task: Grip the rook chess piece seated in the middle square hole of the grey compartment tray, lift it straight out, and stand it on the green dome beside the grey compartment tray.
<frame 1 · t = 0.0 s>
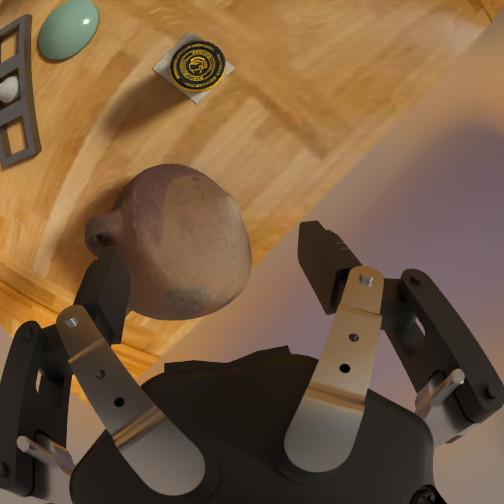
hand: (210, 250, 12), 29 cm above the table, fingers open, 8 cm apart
condiment: (193, 67, 30), on the table
grey compartment tray: (13, 88, 23), on the table
jug: (159, 232, 43), on the table
green dome: (68, 29, 21), on the table
rook chess piece: (14, 88, 23), resting in grey compartment tray
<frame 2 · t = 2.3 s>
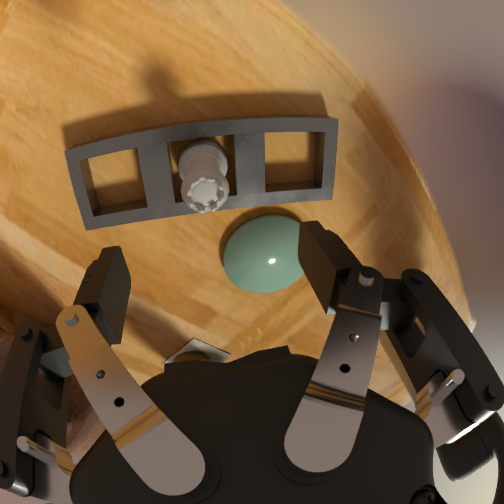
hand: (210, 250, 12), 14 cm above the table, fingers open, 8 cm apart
condiment: (196, 358, 40), on the table
grey compartment tray: (202, 163, 24), on the table
jug: (36, 333, 31), on the table
green dome: (268, 254, 31), on the table
rook chess piece: (202, 162, 24), resting in grey compartment tray
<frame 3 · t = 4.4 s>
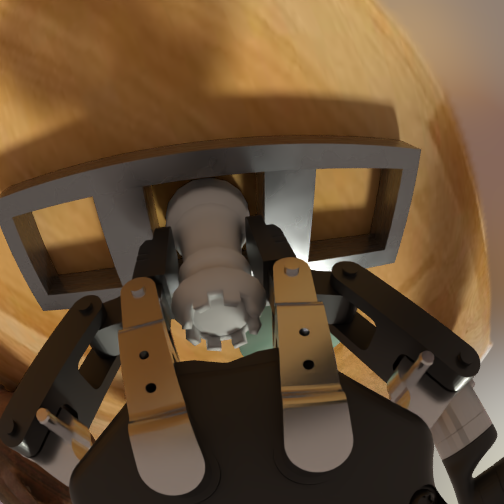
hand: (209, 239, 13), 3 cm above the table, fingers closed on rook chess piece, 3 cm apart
grey compartment tray: (206, 213, 15), on the table
jug: (14, 387, 22), on the table
green dome: (297, 326, 22), on the table
rook chess piece: (206, 211, 15), resting in grey compartment tray, touching gripper
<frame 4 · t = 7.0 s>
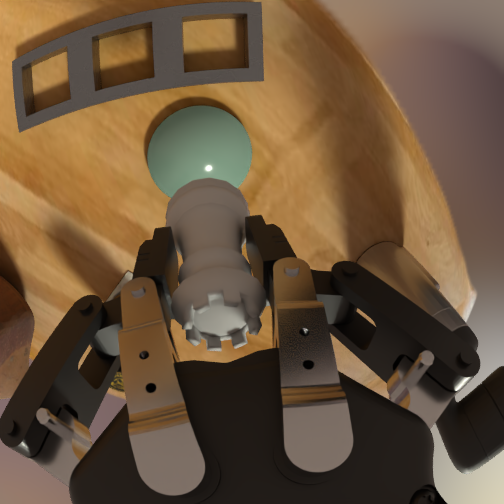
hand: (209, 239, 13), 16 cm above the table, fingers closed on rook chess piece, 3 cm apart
condiment: (136, 302, 34), on the table
grey compartment tray: (127, 57, 18), on the table
green dome: (199, 155, 25), on the table
rook chess piece: (206, 211, 15), point 13 cm above the table, touching gripper
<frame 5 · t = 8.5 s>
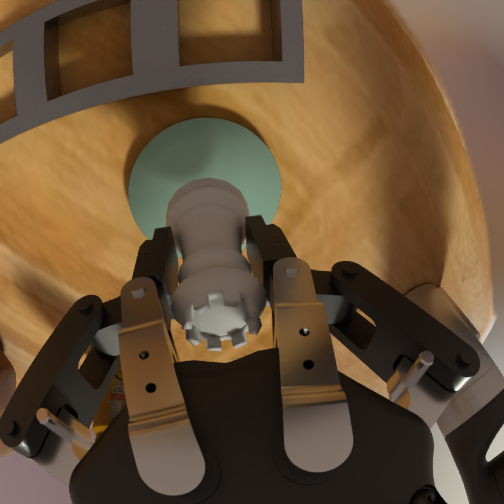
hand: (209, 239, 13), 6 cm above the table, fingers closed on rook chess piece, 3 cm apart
condiment: (131, 360, 27), on the table
grey compartment tray: (95, 47, 11), on the table
green dome: (204, 191, 18), on the table
rook chess piece: (206, 211, 15), point 3 cm above the table, touching gripper
when the fingers open (5 cm above the table, at t = 9.6 s): rook chess piece drops 1 cm, resting on green dome.
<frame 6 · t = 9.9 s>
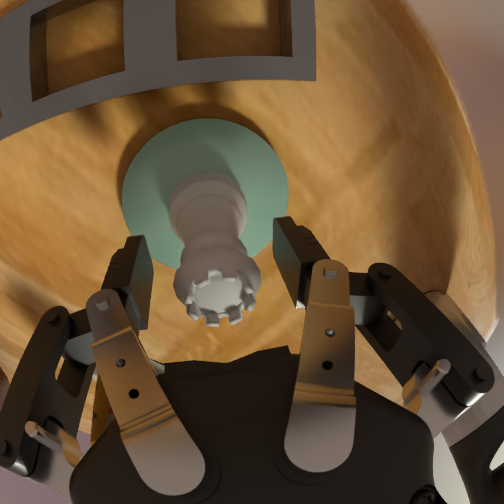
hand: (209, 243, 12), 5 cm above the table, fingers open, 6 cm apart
condiment: (128, 371, 25), on the table
grey compartment tray: (85, 42, 9), on the table
green dome: (204, 199, 16), on the table
rook chess piece: (207, 203, 16), point 1 cm above the table, touching green dome
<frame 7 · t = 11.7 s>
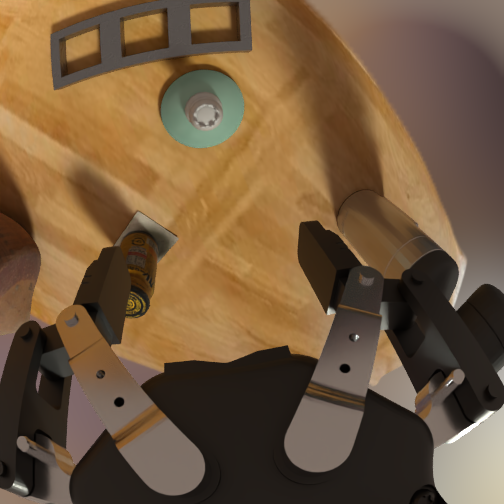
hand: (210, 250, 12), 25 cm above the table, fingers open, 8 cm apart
condiment: (143, 243, 39), on the table
grey compartment tray: (146, 34, 22), on the table
green dome: (202, 108, 30), on the table
rook chess piece: (203, 109, 29), point 1 cm above the table, touching green dome
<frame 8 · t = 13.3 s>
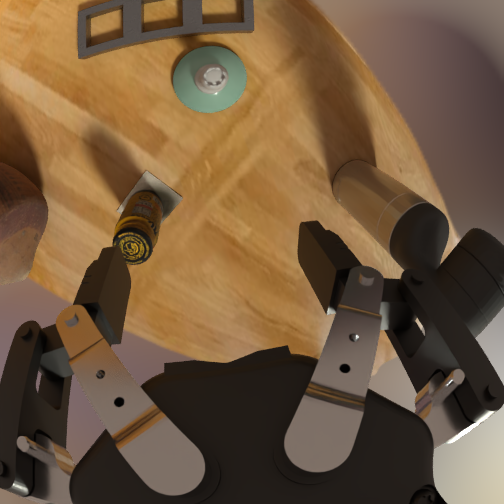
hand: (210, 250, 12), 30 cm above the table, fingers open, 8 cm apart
condiment: (149, 203, 41), on the table
grey compartment tray: (163, 15, 25), on the table
jug: (3, 183, 31), on the table
green dome: (209, 79, 32), on the table
rook chess piece: (210, 79, 31), point 1 cm above the table, touching green dome
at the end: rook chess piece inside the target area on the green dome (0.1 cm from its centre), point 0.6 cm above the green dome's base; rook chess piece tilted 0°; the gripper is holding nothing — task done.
